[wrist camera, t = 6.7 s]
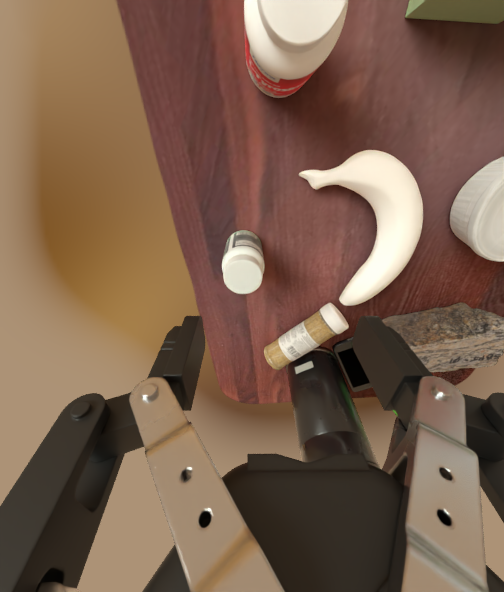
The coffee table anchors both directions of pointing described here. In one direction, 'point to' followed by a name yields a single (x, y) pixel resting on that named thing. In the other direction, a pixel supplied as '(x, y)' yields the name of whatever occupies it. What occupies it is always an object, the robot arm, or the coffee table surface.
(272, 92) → the pill bottle
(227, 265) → the pill bottle
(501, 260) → the ramekin
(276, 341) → the sprinkles bottle
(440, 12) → the green block
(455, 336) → the stone block
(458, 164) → the coffee table surface
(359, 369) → the smartphone
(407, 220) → the banana
